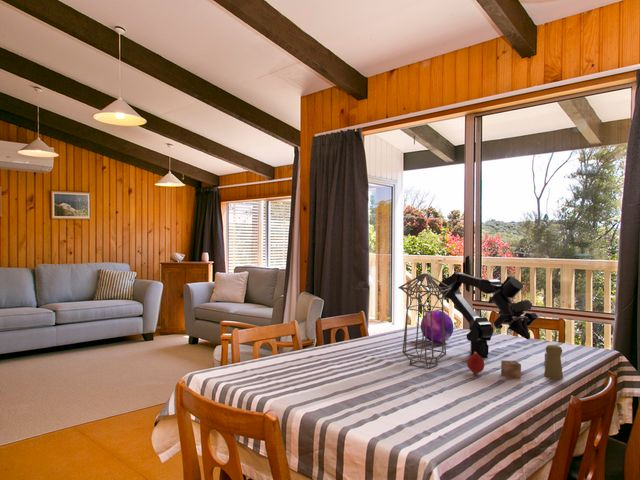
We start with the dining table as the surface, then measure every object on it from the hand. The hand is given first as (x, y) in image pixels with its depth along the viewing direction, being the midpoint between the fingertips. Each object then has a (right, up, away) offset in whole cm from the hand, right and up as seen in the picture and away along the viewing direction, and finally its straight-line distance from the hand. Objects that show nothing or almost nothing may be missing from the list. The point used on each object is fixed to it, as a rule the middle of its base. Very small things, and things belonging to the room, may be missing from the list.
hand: (529, 338), depth 174 cm
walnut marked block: (-11, -11, -9) cm, 18 cm away
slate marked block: (+12, -12, +7) cm, 19 cm away
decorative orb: (-23, -12, +46) cm, 53 cm away
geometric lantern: (-39, -11, +2) cm, 40 cm away
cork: (+5, -12, -9) cm, 15 cm away
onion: (-23, -11, -8) cm, 26 cm away
